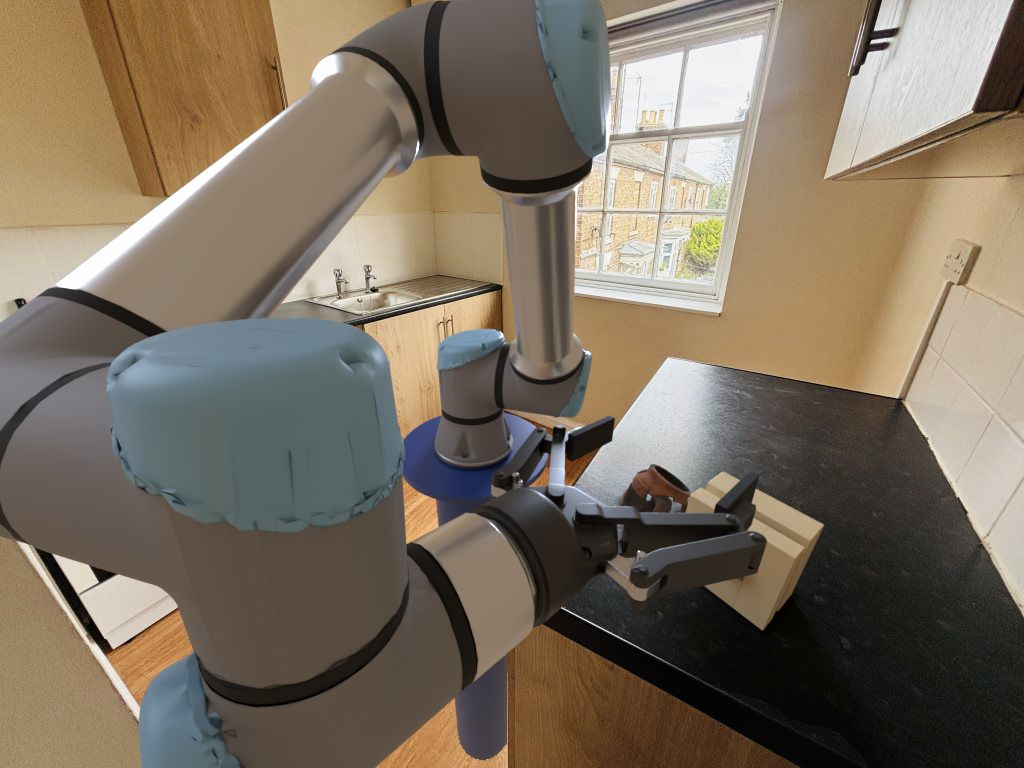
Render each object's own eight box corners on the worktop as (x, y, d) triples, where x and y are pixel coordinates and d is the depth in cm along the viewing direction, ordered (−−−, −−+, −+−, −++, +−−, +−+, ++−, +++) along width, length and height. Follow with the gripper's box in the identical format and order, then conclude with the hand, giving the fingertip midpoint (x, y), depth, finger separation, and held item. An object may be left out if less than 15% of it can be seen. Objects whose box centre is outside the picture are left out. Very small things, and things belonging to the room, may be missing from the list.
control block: (671, 563, 56) (688, 495, 50) (703, 535, 60) (723, 471, 55) (761, 632, 47) (794, 560, 42) (791, 594, 52) (824, 524, 46)
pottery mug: (614, 489, 70) (641, 452, 68) (661, 519, 69) (690, 482, 67) (620, 526, 58) (653, 482, 56) (677, 562, 58) (713, 519, 56)
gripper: (401, 515, 34) (566, 439, 47) (689, 819, 17) (820, 564, 30) (394, 436, 31) (571, 379, 45) (729, 699, 14) (852, 478, 28)
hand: (672, 454), depth 37 cm, fingers open, 13 cm apart
